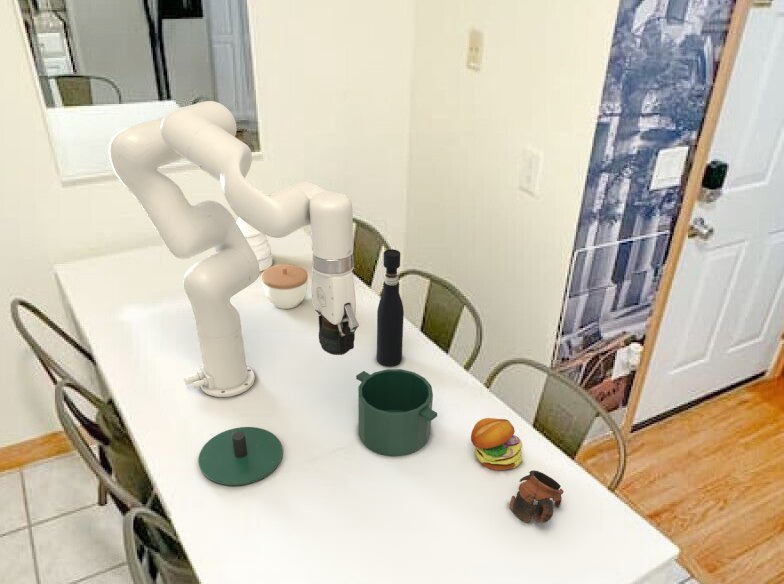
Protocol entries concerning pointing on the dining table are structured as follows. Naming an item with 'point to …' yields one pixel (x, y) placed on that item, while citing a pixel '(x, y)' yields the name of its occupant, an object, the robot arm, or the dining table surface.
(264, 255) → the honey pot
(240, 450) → the lid
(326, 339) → the mate gourd
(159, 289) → the dining table surface
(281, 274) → the lidded bowl
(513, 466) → the cheeseburger
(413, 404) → the pot
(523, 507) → the brown hollow piece
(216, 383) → the robot arm
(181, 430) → the dining table surface
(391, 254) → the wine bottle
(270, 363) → the dining table surface
